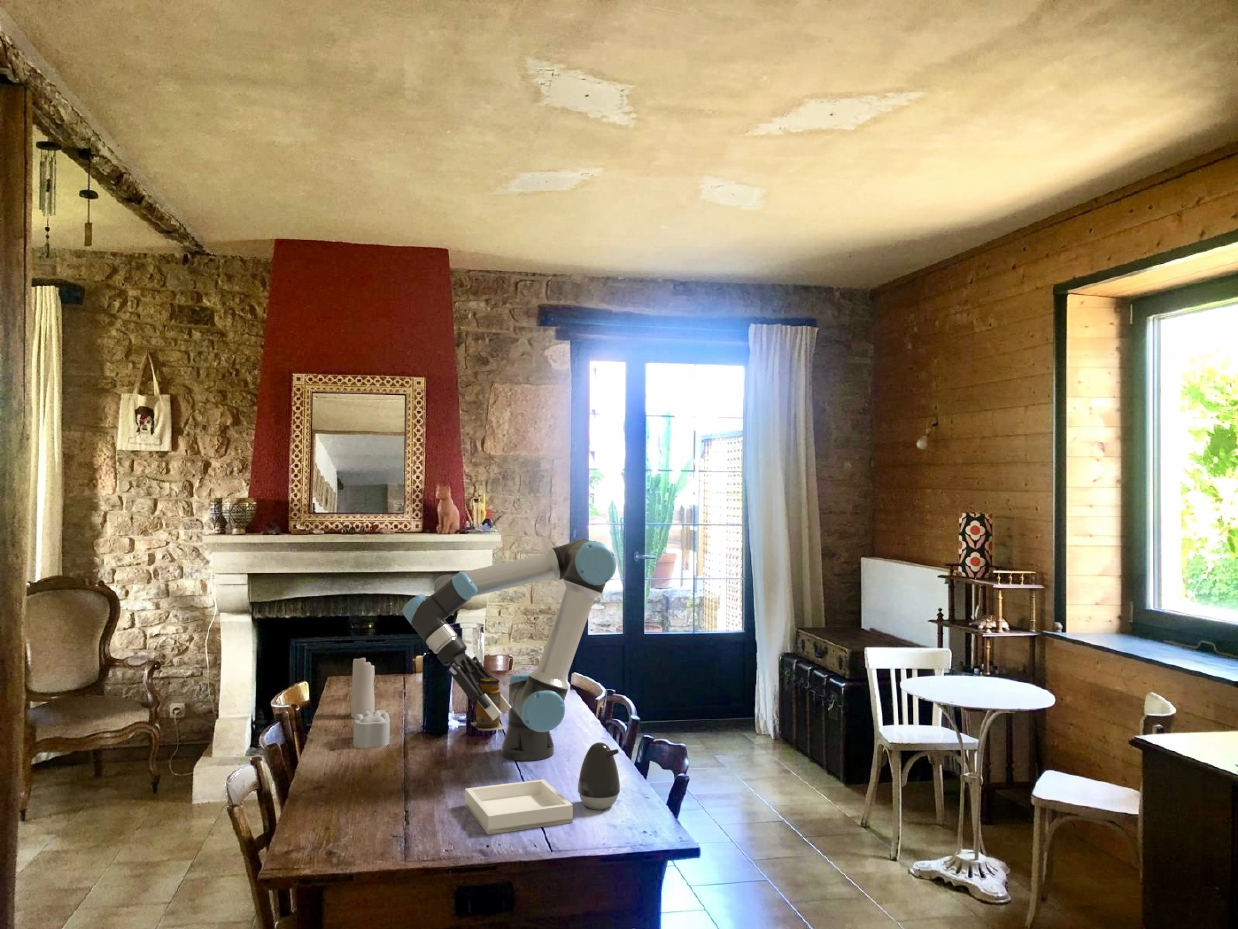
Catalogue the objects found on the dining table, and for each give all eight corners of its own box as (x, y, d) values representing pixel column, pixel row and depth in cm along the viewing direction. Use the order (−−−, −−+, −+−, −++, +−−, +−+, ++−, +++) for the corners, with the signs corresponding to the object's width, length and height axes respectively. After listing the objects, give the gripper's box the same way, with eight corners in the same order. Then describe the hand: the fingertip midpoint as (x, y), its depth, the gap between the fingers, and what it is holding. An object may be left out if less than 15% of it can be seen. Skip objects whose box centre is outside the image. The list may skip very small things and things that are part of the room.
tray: (543, 795, 223) (543, 779, 223) (572, 822, 205) (572, 805, 205) (464, 805, 215) (465, 788, 215) (488, 834, 197) (488, 816, 197)
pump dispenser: (605, 816, 209) (606, 751, 210) (569, 807, 215) (570, 744, 215) (628, 804, 218) (629, 741, 219) (592, 796, 224) (593, 734, 224)
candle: (393, 712, 305) (394, 653, 306) (361, 720, 294) (363, 659, 294) (378, 709, 309) (380, 651, 310) (346, 717, 297) (348, 656, 298)
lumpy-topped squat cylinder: (353, 749, 260) (354, 719, 261) (352, 737, 273) (353, 709, 273) (390, 746, 264) (391, 717, 264) (387, 735, 276) (388, 707, 276)
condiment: (496, 721, 237) (498, 675, 237) (506, 729, 229) (508, 682, 229) (469, 723, 234) (471, 677, 234) (479, 731, 226) (480, 684, 226)
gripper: (454, 649, 246) (507, 714, 241) (420, 661, 228) (477, 732, 223) (472, 631, 245) (526, 696, 240) (439, 641, 226) (497, 712, 221)
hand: (502, 713), depth 231 cm, fingers closed on condiment, 6 cm apart
